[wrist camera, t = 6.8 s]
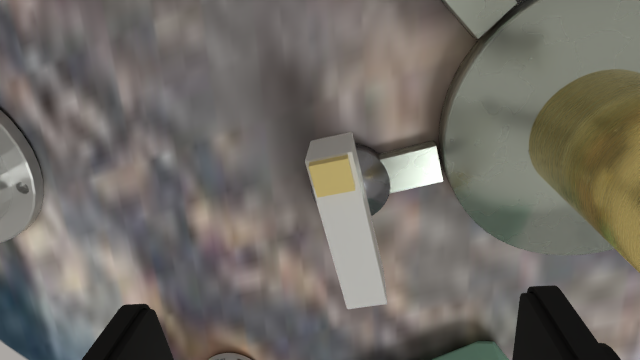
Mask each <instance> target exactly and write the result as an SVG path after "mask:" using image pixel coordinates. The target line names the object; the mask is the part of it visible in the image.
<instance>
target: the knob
mask: <svg viewBox="0 0 640 360" xmlns="http://www.w3.org/2000/svg"><path fill="white" fill-rule="evenodd" d="M305 164H306V167H307V171H308V174H309V178H310V181H311V185H312V188H313V192H314V195H315V199H316V202H317V205H318V209H319V212H320V216H321V219H322V223H323V226H324V230H325V233H326V237H327V240H328V244H329V247H330V251H331V254H332V258H333V261H334V265H335V268H336V272H337V275H338V279H339V282H340V286H341V289H342V293H343V296H344V300H345V303H346V307H347V309H353V308H360V307H368V306H375V305H382V304H387V298H386V288H385V279H384V270H383V266H382V262H381V257H380V253H379V248H378V244H377V240H376V235H375V231H374V226H373V222H372V217H371V213H370V209H369V204H368V200H367V195H366V191H365V187H364V182H363V178H362V173H361V169H360V164H359V160H358V156H357V151H356V147H355V142H354V138H353V134H352V132H349V133H345V134H340V135H335V136H331V137H326V138H321V139H317V140H312V141H311V142H310V145H309V149H308V152H307V155H306V159H305Z"/></svg>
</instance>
